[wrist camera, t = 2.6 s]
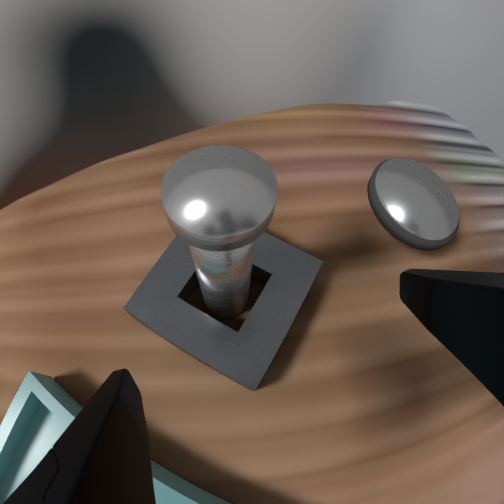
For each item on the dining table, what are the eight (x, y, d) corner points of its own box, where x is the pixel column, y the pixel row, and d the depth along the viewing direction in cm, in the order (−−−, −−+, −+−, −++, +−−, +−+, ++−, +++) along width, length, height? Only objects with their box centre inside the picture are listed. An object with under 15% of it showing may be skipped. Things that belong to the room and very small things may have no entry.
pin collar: (316, 273, 23) (323, 261, 21) (253, 391, 18) (255, 390, 17) (205, 216, 25) (203, 202, 23) (132, 316, 20) (123, 308, 19)
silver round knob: (437, 217, 26) (462, 187, 22) (424, 286, 23) (457, 260, 18) (366, 177, 28) (384, 141, 24) (340, 241, 24) (361, 205, 20)
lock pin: (267, 285, 22) (296, 170, 12) (237, 336, 20) (240, 256, 10) (216, 258, 23) (204, 133, 12) (183, 305, 21) (137, 201, 10)
